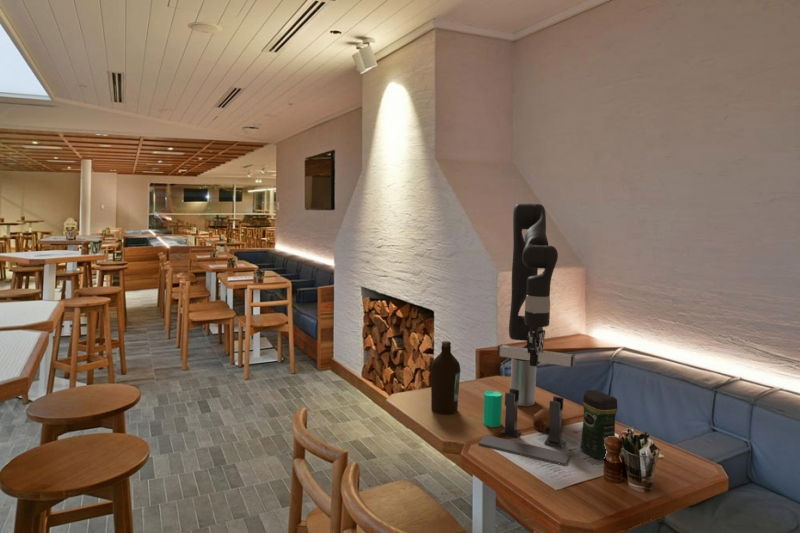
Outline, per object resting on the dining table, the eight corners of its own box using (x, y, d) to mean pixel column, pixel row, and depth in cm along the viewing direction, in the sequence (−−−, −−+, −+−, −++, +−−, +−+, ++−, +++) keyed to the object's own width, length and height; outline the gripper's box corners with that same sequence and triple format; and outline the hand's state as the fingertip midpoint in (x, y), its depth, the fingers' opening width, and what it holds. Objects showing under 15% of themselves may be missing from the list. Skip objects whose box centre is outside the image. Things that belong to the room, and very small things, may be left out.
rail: (500, 353, 169) (501, 344, 169) (574, 364, 158) (575, 354, 158) (497, 355, 166) (497, 346, 166) (572, 366, 155) (573, 356, 155)
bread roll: (563, 437, 176) (566, 413, 178) (560, 435, 167) (563, 409, 169) (533, 432, 180) (536, 408, 182) (529, 429, 171) (532, 404, 174)
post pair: (505, 429, 172) (507, 387, 171) (564, 441, 163) (566, 398, 162) (500, 434, 168) (502, 392, 166) (560, 448, 158) (563, 403, 157)
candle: (500, 427, 173) (502, 392, 172) (482, 426, 175) (484, 391, 174) (501, 421, 179) (502, 387, 178) (483, 419, 181) (484, 385, 179)
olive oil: (427, 413, 185) (429, 344, 182) (431, 403, 195) (433, 337, 193) (457, 416, 183) (460, 346, 180) (460, 406, 193) (462, 339, 191)
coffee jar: (619, 458, 153) (623, 396, 151) (597, 462, 150) (601, 399, 148) (596, 444, 162) (600, 386, 160) (575, 448, 159) (578, 388, 157)
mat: (486, 436, 166) (486, 434, 166) (570, 455, 154) (570, 453, 153) (478, 444, 160) (478, 442, 160) (565, 465, 147) (565, 463, 147)
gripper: (531, 305, 169) (528, 358, 170) (518, 311, 157) (516, 368, 158) (554, 308, 165) (552, 361, 167) (544, 314, 153) (541, 372, 154)
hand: (534, 364), depth 162 cm, fingers closed on rail, 3 cm apart
